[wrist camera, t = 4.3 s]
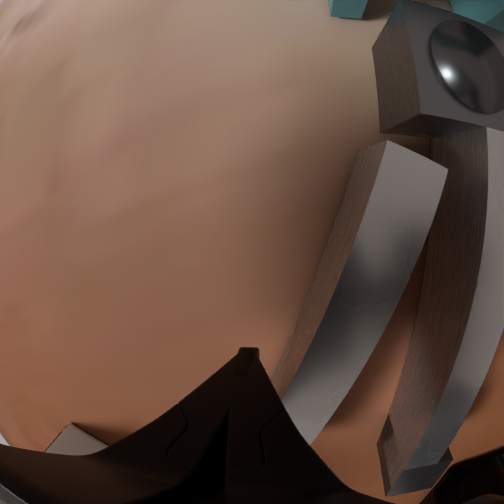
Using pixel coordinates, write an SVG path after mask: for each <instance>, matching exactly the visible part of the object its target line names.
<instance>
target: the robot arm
mask: <svg viewBox="0 0 504 504" xmlns="http://www.w3.org/2000/svg"><path fill="white" fill-rule="evenodd" d="M0 504H394V503H391V502H387V501H384V500H381V499H377V498H374V497H371V496H368V495H365V494H362V493H359V492H357V491H355V490H353V489H351V488H349V487H348V486H347V485H345V484H344V483H343V482H342V481H341V480H340V479H339V478H338V477H337V476H336V475H335V474H334V473H333V472H332V471H331V470H330V468H329V467H328V466H327V465H326V464H325V463H324V462H323V460H322V459H321V458H320V457H319V456H318V455H317V453H316V452H315V451H314V450H313V449H312V448H311V446H310V445H309V444H308V443H307V441H306V440H305V439H304V437H303V436H302V435H301V433H300V432H299V430H298V429H297V427H296V426H295V424H294V422H293V421H292V419H291V417H290V415H289V414H288V412H287V411H286V408H285V407H284V405H283V403H282V401H281V399H280V397H279V395H278V394H277V392H276V390H275V388H274V386H273V384H272V382H271V380H270V378H269V377H268V375H267V373H266V371H265V369H264V367H263V365H262V363H261V361H260V359H259V349H258V348H254V347H241V348H240V349H239V351H238V354H237V355H236V356H234V357H233V358H232V359H231V360H230V361H229V362H227V363H226V364H225V365H224V366H223V367H221V368H220V369H219V370H218V371H217V372H215V373H214V374H213V375H212V376H211V377H209V378H208V379H207V380H206V381H205V382H203V383H202V384H201V385H200V386H198V387H197V388H196V389H195V390H194V391H192V392H191V393H190V394H189V395H187V396H186V397H185V398H184V399H182V400H181V401H180V402H179V403H178V404H176V405H174V406H173V407H172V408H171V409H169V410H168V411H167V412H165V413H164V414H162V415H161V416H160V417H158V418H157V419H155V420H154V421H152V422H151V423H149V424H147V425H146V426H144V427H143V428H141V429H139V430H137V431H136V432H134V433H132V434H130V435H129V436H127V437H125V438H123V439H121V440H119V441H118V442H116V443H114V444H112V445H110V446H108V447H106V448H104V449H102V450H100V451H98V452H95V453H92V454H87V455H65V454H55V453H47V452H40V451H33V450H27V449H21V448H16V447H11V446H7V445H3V444H0ZM420 504H504V449H503V450H501V451H498V452H496V453H493V454H491V455H488V456H485V457H482V458H480V459H477V460H474V461H471V462H467V463H464V464H461V465H458V466H455V467H452V468H451V469H449V470H448V471H447V472H446V473H445V475H444V476H443V477H442V478H441V480H440V481H439V482H438V483H437V485H436V486H435V487H434V488H433V489H432V491H431V492H430V493H429V494H428V495H427V496H426V497H425V499H424V500H423V501H422V502H421V503H420Z"/></svg>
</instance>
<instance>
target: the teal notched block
mask: <svg viewBox="0 0 504 504" xmlns="http://www.w3.org/2000/svg"><path fill="white" fill-rule="evenodd" d="M367 1H368V0H328V3H329V10H330V16H331V17H346V18H357V19H361V17H362V15H363V12H364V9H365V7H366V4H367ZM450 3H451V5H452V8H453V11H454V13H456V14H459V15H462V16H464V17H467V18H470V19H473V20H475V21H478V22H480V23H483V24H485V25H487V26H490V27H492V28H494V29H496V30H499V31H501V32H503V33H504V0H450Z"/></svg>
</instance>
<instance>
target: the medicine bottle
mask: <svg viewBox="0 0 504 504" xmlns="http://www.w3.org/2000/svg"><path fill="white" fill-rule="evenodd" d="M106 447H108V445H106V444H104V443H103V442H101V441H99V440H97V439H96V438H94V437H92V436H91V435H89V434H87V433H86V432H84V431H82V430H81V429H79V428H78V427H76V426H74V425H73V424H68V425H66V427H65V428H64V429H63V430H62V431H61V432H60V434H59V435H58V436H57V437H56V438H55V439H54V441H53V442H52V443H51V444H50V445H49V446H48V448H47V449H46V450H45V451H44V452H47V453H55V454H65V455H87V454H92V453H95V452H98V451H100V450H102V449H104V448H106Z"/></svg>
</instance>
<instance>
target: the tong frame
mask: <svg viewBox="0 0 504 504" xmlns="http://www.w3.org/2000/svg"><path fill="white" fill-rule="evenodd" d="M372 51H373V58H374V65H375V73H376V82H377V92H378V104H379V118H380V133H387V134H397V135H406V136H415V137H422V138H429V139H431V158H432V161H433V162H435V163H437V164H439V165H441V166H443V167H445V168H447V169H449V170H448V173H447V177H446V180H445V184H444V187H443V191H442V194H441V197H440V200H439V203H438V206H437V209H436V212H435V215H434V218H433V221H432V224H431V227H430V230H429V237H428V246H427V255H426V263H425V270H424V277H423V284H422V290H421V295H420V301H419V306H418V311H417V316H416V321H415V325H414V330H413V334H412V338H411V342H410V346H409V350H408V354H407V358H406V361H405V365H404V368H403V372H402V375H401V378H400V382H399V385H398V388H397V391H396V394H395V397H394V400H393V403H392V406H391V409H390V411H389V414H388V417H387V419H386V422H385V425H384V427H383V430H382V432H381V435H380V437H379V440H378V442H377V448H378V453H379V459H380V465H381V471H382V477H383V484H384V491H385V497H386V496H392V495H398V494H404V493H409V492H414V491H419V490H423V489H427V488H431V487H432V486H433V485H434V484H435V483H436V481H437V480H438V479H439V478H440V476H441V475H442V474H443V472H444V471H445V470H446V468H447V467H448V466H449V464H450V463H451V462H452V460H453V458H452V455H451V452H450V450H449V445H450V443H451V442H452V440H453V439H454V437H455V435H456V434H457V432H458V430H459V428H460V427H461V425H462V423H463V421H464V420H465V418H466V416H467V414H468V412H469V410H470V408H471V406H472V404H473V402H474V400H475V398H476V396H477V394H478V392H479V390H480V388H481V386H482V384H483V381H484V379H485V377H486V374H487V372H488V370H489V367H490V365H491V362H492V360H493V357H494V355H495V352H496V349H497V347H498V344H499V341H500V338H501V335H502V332H503V329H504V33H503V32H501V31H499V30H496V29H494V28H492V27H490V26H487V25H485V24H483V23H480V22H478V21H475V20H473V19H470V18H467V17H464V16H462V15H459V14H456V13H453V12H450V11H447V10H444V9H440V8H437V7H433V6H430V5H426V4H422V3H418V2H414V1H410V0H399V1H398V3H397V5H396V7H395V8H394V10H393V12H392V14H391V15H390V17H389V19H388V21H387V22H386V24H385V26H384V28H383V29H382V31H381V33H380V35H379V36H378V38H377V40H376V42H375V43H374V45H373V47H372Z"/></svg>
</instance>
